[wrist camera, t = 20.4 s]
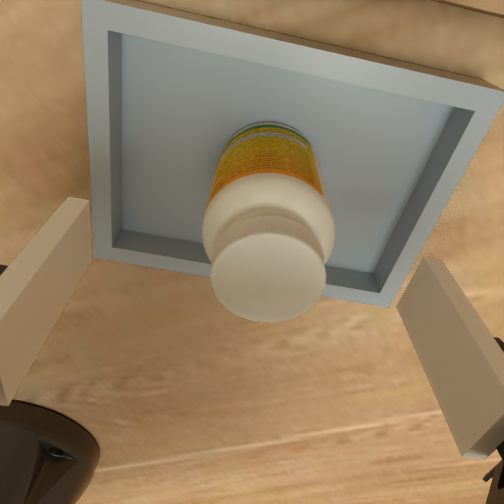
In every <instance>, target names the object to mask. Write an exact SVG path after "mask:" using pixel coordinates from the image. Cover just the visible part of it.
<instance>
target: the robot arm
mask: <svg viewBox="0 0 504 504" xmlns="http://www.w3.org/2000/svg"><path fill="white" fill-rule="evenodd" d="M91 261H92V240H91V219H90V200H86V199H80V198H74V197H67V198H66V199H65V201H64V202H63V203H62V204H61V205H60V206H59V208H58V209H57V210H56V211H55V212H54V214H53V215H52V216H51V217H50V218H49V219H48V221H47V222H46V223H45V224H44V225H43V226H42V228H41V229H40V230H39V231H38V232H37V233H36V235H35V236H34V237H33V238H32V239H31V240H30V242H29V243H28V244H27V245H26V246H25V247H24V249H23V250H22V251H21V252H20V253H19V255H18V256H17V257H16V258H15V259H14V260H13V262H12V263H11V264H10V265H9V266H5V265H0V504H76V503H77V501H78V500H79V498H80V497H81V495H82V494H83V492H84V491H85V490H86V488H87V487H88V485H89V483H90V482H91V480H92V477H93V474H94V471H95V469H96V466H97V463H98V460H99V448H98V446H97V444H96V442H95V441H94V439H93V438H92V437H91V436H90V435H89V434H88V433H87V432H86V431H85V430H84V429H83V428H81V427H80V426H79V425H77V424H76V423H74V422H72V421H70V420H69V419H67V418H65V417H63V416H61V415H58V414H56V413H54V412H51V411H48V410H46V409H43V408H39V407H36V406H32V405H28V404H23V403H18V402H11V401H12V399H13V397H14V395H15V394H16V392H17V390H18V388H19V387H20V385H21V383H22V382H23V380H24V378H25V376H26V375H27V373H28V371H29V369H30V368H31V366H32V364H33V362H34V361H35V359H36V357H37V355H38V354H39V352H40V350H41V348H42V347H43V345H44V343H45V341H46V340H47V338H48V336H49V334H50V333H51V331H52V329H53V328H54V326H55V324H56V322H57V321H58V319H59V317H60V315H61V314H62V312H63V310H64V308H65V307H66V305H67V303H68V301H69V300H70V298H71V296H72V294H73V293H74V291H75V289H76V287H77V286H78V284H79V282H80V280H81V279H82V277H83V275H84V274H85V272H86V270H87V268H88V267H89V265H90V263H91ZM396 307H397V309H398V311H399V314H400V316H401V318H402V320H403V323H404V325H405V327H406V330H407V332H408V334H409V336H410V339H411V341H412V343H413V346H414V348H415V350H416V352H417V355H418V357H419V359H420V362H421V364H422V366H423V368H424V371H425V373H426V375H427V378H428V380H429V382H430V384H431V387H432V389H433V391H434V394H435V396H436V398H437V401H438V403H439V405H440V407H441V410H442V412H443V414H444V417H445V419H446V421H447V423H448V426H449V428H450V430H451V433H452V435H453V437H454V439H455V442H456V444H457V446H458V449H459V451H460V453H461V455H462V457H468V458H477V459H486V458H487V457H488V456H489V455H490V454H491V453H493V452H494V451H495V450H496V449H497V450H498V452H499V454H500V456H501V458H502V460H501V461H500V462H499V463H498V464H497V465H496V466H495V467H494V468H493V469H492V470H490V471H489V472H488V473H487V474H486V475H485V476H484V478H483V480H484V481H485V482H487V481H488V480H489V479H490V478H493V479H492V483H491V486H490V490H489V494H488V497H487V501H486V504H504V342H502V341H501V340H500V339H499V338H496V337H493V336H492V334H491V333H490V331H489V330H488V328H487V327H486V325H485V324H484V322H483V321H482V319H481V318H480V317H479V315H478V314H477V312H476V311H475V309H474V308H473V306H472V305H471V303H470V302H469V300H468V299H467V297H466V296H465V294H464V293H463V291H462V290H461V288H460V287H459V285H458V284H457V282H456V281H455V279H454V278H453V276H452V275H451V273H450V272H449V270H448V269H447V267H446V266H445V264H444V263H443V261H442V260H440V259H434V258H428V257H423V259H422V261H421V263H420V265H419V266H418V268H417V270H416V272H415V274H414V276H413V277H412V279H411V281H410V283H409V285H408V286H407V288H406V290H405V292H404V294H403V295H402V297H401V299H400V301H399V303H398V304H397V306H396Z"/></svg>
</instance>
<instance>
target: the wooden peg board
mask: <svg viewBox="0 0 504 504" xmlns="http://www.w3.org/2000/svg"><path fill="white" fill-rule="evenodd" d="M432 1H436V2H441V3H445V4H449V5H453V6H457V7H461V8H465V9H469V10H473V11H477V12H481V13H485V14H489V15H494V16H498V17H502V18H504V0H432Z"/></svg>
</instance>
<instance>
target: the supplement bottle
mask: <svg viewBox="0 0 504 504" xmlns="http://www.w3.org/2000/svg"><path fill="white" fill-rule="evenodd" d="M202 239H203V244H204V248H205V251H206V254H207V256H208V258H209V260H210V261H211V263H212V264H211V271H210V281H211V287H212V290H213V293H214V295H215V297H216V298H217V300H218V301H219V302H220V303H221V305H222V306H224V307H225V308H226V309H227V310H228V311H230V312H231V313H233V314H234V315H237V316H239V317H241V318H244V319H247V320H250V321H254V322H263V323H272V322H281V321H286V320H289V319H293V318H295V317H297V316H299V315H301V314H303V313H305V312H306V311H308V310H309V309H310V308H311V307H312V306H313V305H315V304H316V302H317V301H318V300H319V298H320V297H321V295H322V293H323V291H324V288H325V284H326V270H325V263H326V262H327V260H328V258H329V257H330V254H331V252H332V249H333V246H334V241H335V223H334V218H333V214H332V210H331V206H330V202H329V199H328V195H327V191H326V188H325V184H324V180H323V176H322V172H321V168H320V164H319V160H318V157H317V155H316V152H315V150H314V148H313V146H312V145H311V143H310V142H309V141H308V140H307V138H306V137H305V136H304V135H302V134H301V133H300V132H298V131H297V130H295V129H293V128H290V127H288V126H286V125H282V124H279V123H271V122H265V123H258V124H254V125H251V126H248V127H246V128H244V129H242V130H240V131H239V132H237V133H236V134H235V135H234V136H233V137H232V138H231V139H230V140H229V141H228V143H227V144H226V146H225V148H224V149H223V152H222V154H221V157H220V160H219V163H218V167H217V171H216V174H215V178H214V182H213V185H212V189H211V193H210V197H209V201H208V204H207V207H206V210H205V214H204V218H203V226H202Z"/></svg>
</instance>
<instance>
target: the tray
mask: <svg viewBox="0 0 504 504" xmlns="http://www.w3.org/2000/svg"><path fill="white" fill-rule="evenodd" d="M81 8H82V27H83V46H84V65H85V84H86V103H87V122H88V141H89V160H90V179H91V198H92V217H93V236H94V255H95V258H97V259H103V260H109V261H115V262H121V263H127V264H133V265H139V266H145V267H151V268H157V269H163V270H168V271H174V272H180V273H186V274H192V275H198V276H204V277H210V271H211V264H212V263H211V261H210V260H209V258H208V256H207V254H206V251H205V248H204V244H203V239H202V226H203V218H204V214H205V210H206V207H207V204H208V201H209V197H210V193H211V189H212V185H213V182H214V178H215V174H216V171H217V167H218V163H219V160H220V157H221V154H222V152H223V149H224V148H225V146H226V144H227V143H228V141H229V140H230V139H231V138H232V137H233V136H234V135H235V134H236V133H237V132H239V131H240V130H242V129H244V128H246V127H248V126H251V125H254V124H258V123H265V122H271V123H279V124H282V125H286V126H288V127H290V128H293V129H295V130H297V131H298V132H300V133H301V134H302V135H304V136H305V137H306V138H307V140H308V141H309V142H310V143H311V145H312V146H313V148H314V150H315V152H316V155H317V157H318V160H319V164H320V168H321V172H322V176H323V180H324V184H325V188H326V191H327V195H328V199H329V202H330V206H331V210H332V214H333V218H334V223H335V241H334V246H333V249H332V252H331V254H330V257H329V258H328V260H327V262H326V263H325V270H326V284H325V288H324V291H323V293H322V295H321V296H323V297H329V298H334V299H340V300H346V301H352V302H358V303H364V304H370V305H376V306H382V307H388V308H389V307H390V305H391V303H392V302H393V300H394V298H395V296H396V294H397V293H398V291H399V289H400V287H401V285H402V284H403V282H404V280H405V278H406V277H407V275H408V273H409V271H410V269H411V268H412V266H413V264H414V262H415V260H416V259H417V257H418V255H419V253H420V251H421V250H422V248H423V246H424V244H425V242H426V241H427V239H428V237H429V235H430V234H431V232H432V230H433V228H434V226H435V225H436V223H437V221H438V219H439V217H440V216H441V214H442V212H443V210H444V208H445V207H446V205H447V203H448V201H449V200H450V198H451V196H452V194H453V192H454V191H455V189H456V187H457V185H458V183H459V182H460V180H461V178H462V176H463V174H464V173H465V171H466V169H467V167H468V165H469V164H470V162H471V160H472V158H473V157H474V155H475V153H476V151H477V149H478V148H479V146H480V144H481V142H482V140H483V139H484V137H485V135H486V133H487V131H488V130H489V128H490V126H491V124H492V122H493V121H494V119H495V117H496V115H497V114H498V112H499V110H500V108H501V106H502V105H503V103H504V90H503V89H501V88H499V87H497V86H495V85H493V84H491V83H489V82H487V81H485V80H483V79H479V78H475V77H470V76H466V75H462V74H457V73H453V72H448V71H444V70H440V69H435V68H431V67H427V66H422V65H418V64H413V63H409V62H405V61H400V60H396V59H392V58H387V57H383V56H379V55H374V54H370V53H365V52H361V51H357V50H352V49H348V48H344V47H339V46H335V45H330V44H326V43H322V42H317V41H313V40H309V39H304V38H300V37H295V36H291V35H287V34H282V33H278V32H274V31H269V30H265V29H261V28H256V27H252V26H247V25H243V24H239V23H234V22H230V21H226V20H221V19H217V18H212V17H208V16H204V15H199V14H195V13H191V12H186V11H182V10H177V9H173V8H169V7H164V6H160V5H156V4H151V3H147V2H143V1H138V0H81Z"/></svg>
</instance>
